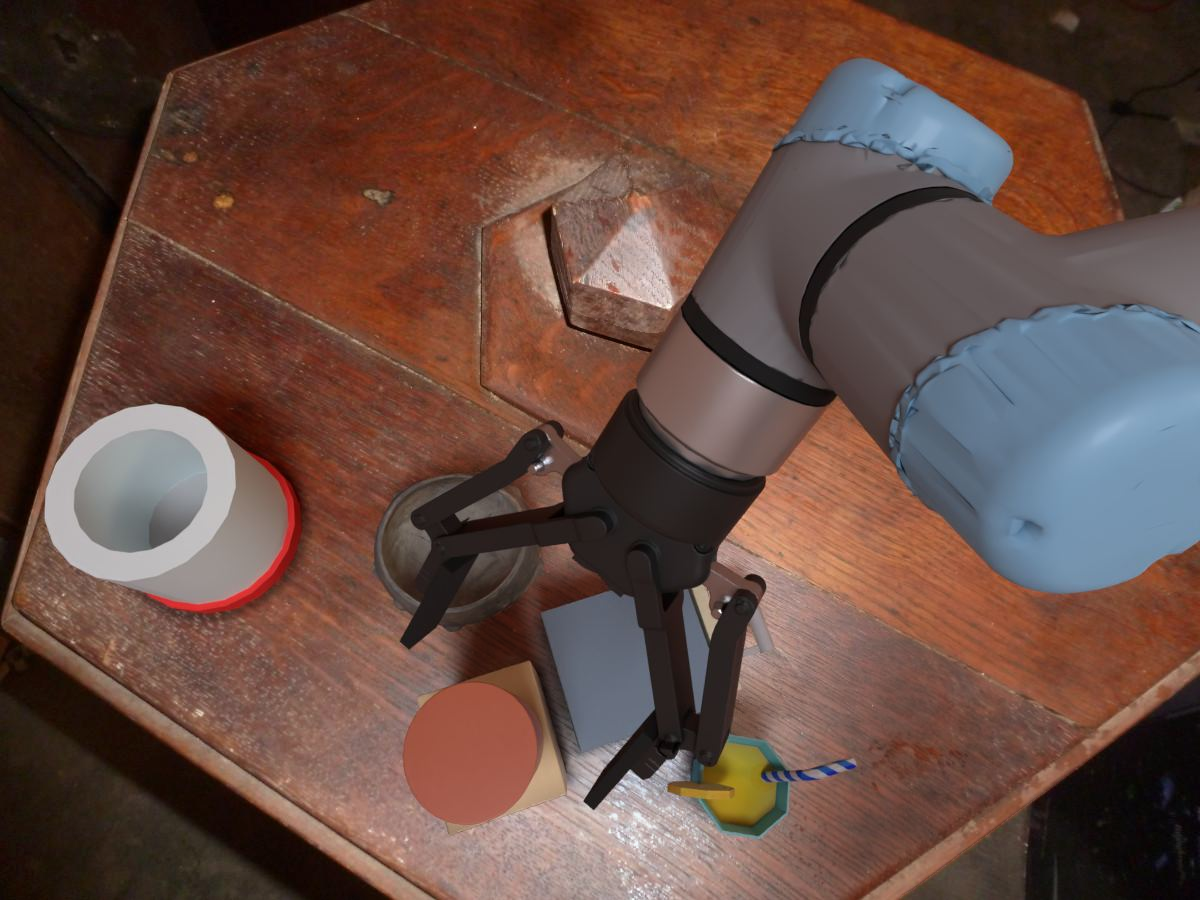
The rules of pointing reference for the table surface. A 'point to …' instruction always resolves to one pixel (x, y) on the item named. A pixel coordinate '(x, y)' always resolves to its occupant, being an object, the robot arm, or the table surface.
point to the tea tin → (472, 752)
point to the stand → (551, 768)
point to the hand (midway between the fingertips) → (505, 710)
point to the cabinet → (611, 665)
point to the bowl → (490, 577)
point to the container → (172, 510)
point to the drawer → (708, 622)
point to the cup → (749, 786)
